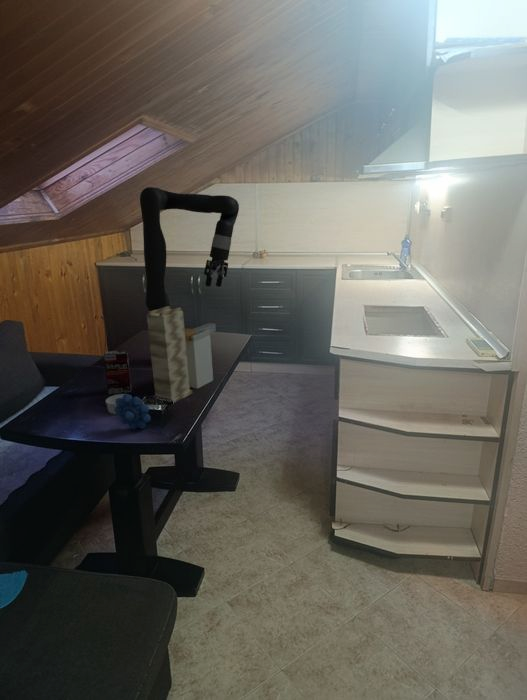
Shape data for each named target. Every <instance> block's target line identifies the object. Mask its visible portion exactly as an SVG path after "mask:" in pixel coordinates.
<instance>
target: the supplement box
mask: <svg viewBox="0 0 527 700" xmlns="http://www.w3.org/2000/svg"><path fill="white" fill-rule="evenodd" d="M128 351H129V350H127V349H125V350H123V349H122V350H113V351H105V352H104V353H103V360H104V361H103V363H104V368H105V377H106V383H107V391H108V395H111V394H113V393H114V394H123V393H122V392H124V393H131V392H132V388H133V387H132V378H131V370H130V369H131V368H130V360H129V352H128ZM114 394H113V395H114Z"/></svg>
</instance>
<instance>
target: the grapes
mask: <svg viewBox="0 0 527 700" xmlns="http://www.w3.org/2000/svg"><path fill="white" fill-rule="evenodd" d="M124 394H125V395H123V397H122V398H123V399H122V398H118V399H116V404H117V407H115V409H114V411H115V413H116V414H115V415H118V416H119V417H118V418H119V421H120V423H121V424H124V425H128V427H129V428H130V429H132V430H136V429H137V428H140V429H146V427H147V423H149V422H151V420H152V418H151V416H150V414H149V412H150V408H149V405H147V404H145V403H144V404H143V402H142V399H141V398H140V397H138V396H134V397H131V396H132V395H131V396H130V394H129V393H128V394H127V393H124Z"/></svg>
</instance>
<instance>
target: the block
mask: <svg viewBox="0 0 527 700" xmlns="http://www.w3.org/2000/svg"><path fill="white" fill-rule="evenodd" d="M216 325H217V324H216V323H214V322H209V323H206V324H203V325H200V326H198V327H197V326H196V327H194V328H188V327H187V328H185V340H186V342H190V341H192V340H191V336H193V335H196V334H199V333H201V332H204V331H206V330H210V334H212V333H214V332H216V331H217V328H216V327H217V326H216Z"/></svg>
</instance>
